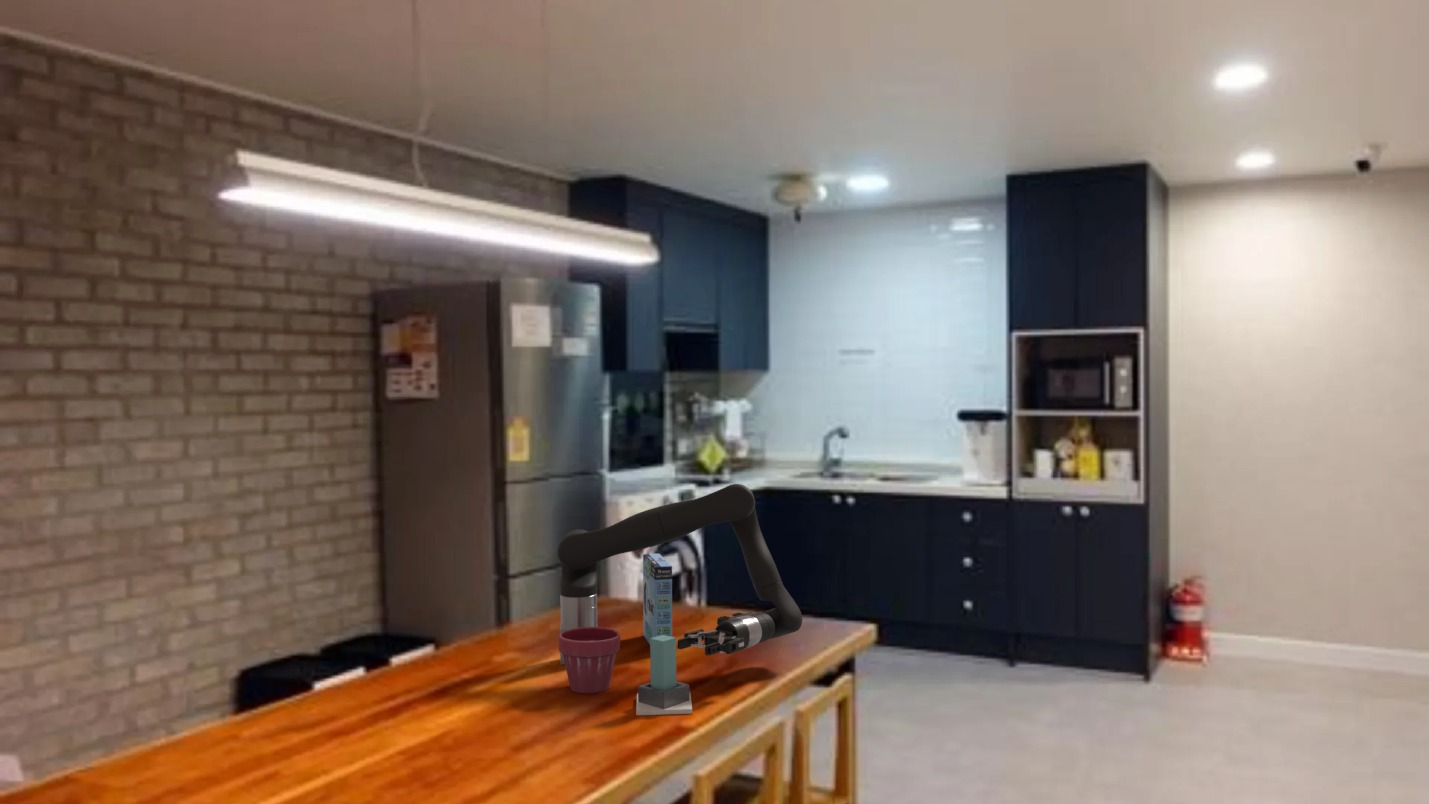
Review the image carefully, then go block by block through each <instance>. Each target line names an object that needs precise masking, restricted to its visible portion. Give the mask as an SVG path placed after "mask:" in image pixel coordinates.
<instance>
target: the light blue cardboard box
mask: <svg viewBox="0 0 1429 804" xmlns="http://www.w3.org/2000/svg"><path fill="white" fill-rule="evenodd" d="M642 557H643V559H642V560H643V562H642V564H643V565H642V566H643V567H642V568H643V569H642V577H643V578H642V581H643V582H642V588H643V589H642V590H643V591H642V592H643V595H642V596H643V597H642V600H643V601H642V602H643V606H642V607H643V611H642V612H643V615H642V616H643V618H642V620H643V623H642V625H643V627H642V628H643V629H642V631H643V636H644V638H645V639H646V641H647V643H648V644H649V645H650V638H654V637H657V636H661V635H666V636H670V637H673V566H672V564H670V563H669V562H668V561H667V560H666V558H664V557H663V556H662V555H661V553H644V554H642Z"/></svg>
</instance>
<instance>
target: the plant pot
mask: <svg viewBox="0 0 1429 804" xmlns="http://www.w3.org/2000/svg"><path fill="white" fill-rule="evenodd" d="M620 649H621V634H620V632H619V631H618V630H617V629H614V628H610V627H609V628H608V627H603V626H597V627H581V628H574V629H569V630H566V631H563V632H561V633H560V632H559V635H558V651H559V653H560V652H561V653H562V654H563V657H564V662H565V664H564V665H565V666H564V667H565V671H566V675H567V679H568V684H569V688H570V690H571V691H573V692H575V693H579V694H596V693H597V694H598V693H602V692H604V691H607V690H608V689H610V685H611V681H612V680H611V679H612V676H613V673H614V672H613V671H614V665H615V661H616V657H617V656H616V655H617V652H618V651H620Z"/></svg>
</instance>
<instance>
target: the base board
mask: <svg viewBox="0 0 1429 804" xmlns="http://www.w3.org/2000/svg"><path fill="white" fill-rule="evenodd" d="M635 709H636V711H635V713H636V716H657V715H658V716H660V715H663V716H664V715H685V714H686V715H687V714H688V715H690V714H691V715H692V714H693V703H692V697H691V694H690V700H689V701H687V702H684V703H681V704H678V705H675V706H672V707H670V708H667V709H661V708H658V707H654V706H651V705H647V704H644V703H640V702H638V693H636V708H635Z"/></svg>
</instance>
